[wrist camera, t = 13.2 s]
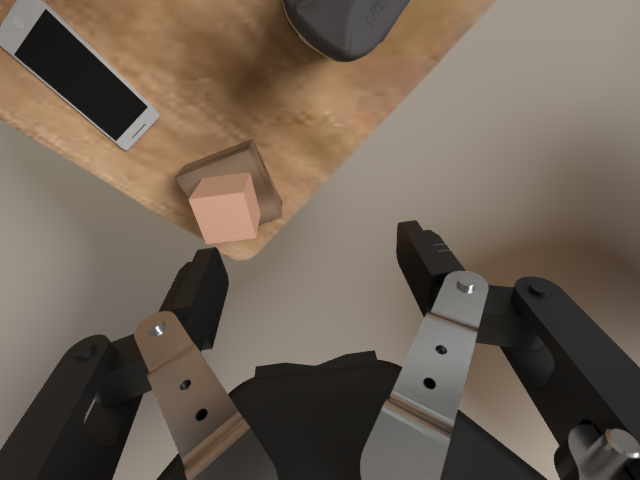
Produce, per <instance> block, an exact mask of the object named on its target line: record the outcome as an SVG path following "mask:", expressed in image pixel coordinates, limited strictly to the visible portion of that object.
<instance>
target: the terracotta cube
mask: <svg viewBox="0 0 640 480" xmlns="http://www.w3.org/2000/svg"><path fill="white" fill-rule="evenodd" d="M189 202H190V205H191V207H192V210H193V212H194V215H195V217H196V220H197V222H198V225H199V227H200V230H201V232H202V235H203V237H204V240H205V242H206V244H214V243H221V242H229V241H236V240H244V239H251V238H256V235H257V230H258V225H259V219H260V210H259V206H258V202H257V198H256V194H255V190H254V186H253V182H252V178H251V174H250V172H247V173H239V174H232V175H224V176H217V177H209V178H202V180H201V181H200V183H199V184H198V186H197V187H196V189H195V190H194V192H193V193H192V195H191V196H190V198H189Z"/></svg>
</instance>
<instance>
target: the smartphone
mask: <svg viewBox="0 0 640 480" xmlns="http://www.w3.org/2000/svg"><path fill="white" fill-rule="evenodd" d="M0 46H1V47H2V48H3V49H5V50H6V51H7V52H8V53H9V54H11V55H12V56H13V57H14V58H15V59H16V60H18V61H19V62H20V63H21V64H22V65H24V66H25V67H26V68H27V69H28V70H30V71H31V72H32V73H33V74H34V75H35V76H37V77H38V78H39V79H40V80H41V81H43V82H44V83H45V84H46V85H47V86H49V87H50V88H51V89H52V90H53V91H54V92H56V93H57V94H58V95H59V96H60V97H62V98H63V99H64V100H65V101H66V102H67V103H69V104H70V105H71V106H72V107H73V108H75V109H76V110H77V111H78V112H79V113H81V114H82V115H83V116H84V117H85V118H86V119H88V120H89V121H90V122H91V123H92V124H94V125H95V126H96V127H97V128H98V129H100V130H101V131H102V132H103V133H104V134H105V135H107V136H108V137H109V138H110V139H111V140H113V141H114V142H115V143H116V144H117V145H119V146H120V147H121V148H122V149H124V150H126V151H127V150H129V149H130V148H131V147H132V146H133V145H134V144H135V143H136V142H137V141H138V139H139V138H140V137H141V136H142V135H143V134H144V133H145V132H146V131H147V130H148V129H149V128H150V127H151V126H152V125H153V124H154V123H155V122H156V121H157V120H158V119H159V118H160V114H159V112H158V111H157V110H156V109H155V108H154V107H153V106H152V105H151V104H150V103H149V102H148V101H147V100H146V99H145V98H144V97H142V96H141V95H140V94H139V93H138V92H137V91H136V90H135V89H134V88H133V87H132V86H131V85H130V84H129V83H128V82H127V81H126V80H125V79H124V78H123V77H122V76H121V75H120V74H119V73H118V72H117V71H116V70H115V69H114V68H113V67H112V66H111V65H109V64H108V63H107V62H106V61H105V60H104V59H103V58H102V57H101V56H100V55H99V54H98V53H97V52H96V51H95V50H94V49H93V48H92V47H91V46H90V45H89V44H88V43H87V42H86V41H85V40H84V39H83V38H82V37H81V36H80V35H79V34H77V33H76V32H75V31H74V30H73V29H72V28H71V27H70V26H69V25H68V24H67V23H66V22H65V21H64V20H63V19H62V18H61V17H60V16H59V15H58V14H57V13H56V12H55V11H54V10H53V9H52V8H51V7H50V6H49V5H48V4H47V3H46V2H44V1H43V0H16V2H15V4H14V5H13V7H12V8H11V10H10V11H9V13H8V14H7V16H6V18H5V19H4V21H3V22H2V24H1V25H0Z"/></svg>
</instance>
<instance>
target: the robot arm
mask: <svg viewBox="0 0 640 480" xmlns="http://www.w3.org/2000/svg"><path fill="white" fill-rule="evenodd" d="M396 253H397V260H398V264H399V266H400V268H401V270H402V272H403V274H404V276H405V279H406V281H407V283H408V285H409V287H410V289H411V291H412V293H413V295H414V297H415V299H416V302H417V304H418V306H419V308H420V310H421V312H422V314H423V316H424V320H423V322H422V324H421V327H420V329H419V331H418V333H417V336H416V338H415V340H414V343H413V345H412V347H411V349H410V352H409V354H408V356H407V358H406V361H405V363H404V366H403V367H401V366H399V365H396V364H394V363H391V362H388V361H383V360H377V357H376V354H375V351H367V352H360V353H353V354H345V355H343V356H340V357H338V358H335V359H333V360H330V361H327V362H325V363H322V364H320V365H316V366H311V365H301V364H292V363H279V364H272V365H266V366H258V367H256V370H255V377H253V378H251V379H249V380H247V381H245V382H243V383H242V384H240V385H238V386H237V387H236V388H235V389H233V390H232V391H231V392H230V393H229V394H227V392H226V391H225V389H224V388H223V386H222V385H221V383H220V382H219V380H218V379H217V377H216V376H215V374H214V372H213V371H212V369H211V368H210V366H209V365H208V363H207V362H206V360H205V358H204V357H203V355H202V354H201V350H205V349H212V348H213V344H214V340H215V337H216V333H217V329H218V325H219V321H220V317H221V314H222V310H223V306H224V302H225V298H226V295H227V291H228V285H229V280H228V274H227V272H226V269H225V266H224V264H223V261H222V258H221V256H220V253H219V251H218V249H217V248H216V247H214V248H206V249H199V250H197V252H196V254H195V256H194V259H193V261H192V262H188V263H186V264H185V265H184V266H183V267H182V268H181V269H180V270H179V272H178V274H177V276H176V278H175V281H174V282H173V284H172V286H171V288H170V290H169V292H168V294H167V296H166V298H165V300H164V302H163V304H162V306H161V308H160V310H159V312H158V313H155V314H153V315H151V316H149V317H147V318H146V319H144V320H143V321H142V322H141V323H140V324H139V325H138V327H137V328H136V330H135V333H134V334H132V335H130V336H127V337H124V338H122V339H119V340H116V341H114V342H110V340H109V339H108V338H107V337H106V336H104V335H94V336H90V337H87V338H85V339H83V340H81V341H79V342H78V343H76V344H75V345H73V346H72V347H71V348H70V349H69V350H68V351H67V352H66V353H65V355H64V356H63V357H62V359H61V360H60V362H59V363H58V365H57V366H56V368H55V369H54V371H53V372H52V374H51V375H50V377H49V378H48V380H47V381H46V383H45V384H44V386H43V387H42V389H41V390H40V392H39V393H38V395H37V396H36V398H35V399H34V401H33V402H32V404H31V405H30V407H29V408H28V410H27V411H26V413H25V414H24V416H23V417H22V419H21V420H20V422H19V423H18V425H17V426H16V428H15V429H14V431H13V432H12V434H11V435H10V437H9V438H8V440H7V441H6V443H5V444H4V446H3V447H2V449H1V450H0V480H112V479H113V475H114V473H115V470H116V468H117V465H118V462H119V459H120V457H121V454H122V451H123V448H124V446H125V443H126V440H127V437H128V435H129V432H130V429H131V427H132V424H133V421H134V418H135V416H136V413H137V410H138V407H139V405H140V402H141V399H142V396H143V394H144V393H146V392H148V391H151V390H153V392H154V394H155V397H156V399H157V401H158V404H159V406H160V409H161V411H162V414H163V416H164V418H165V420H166V423H167V425H168V428H169V430H170V432H171V435H172V437H173V440H174V442H175V445H176V447H177V449H178V452H179V453H178V454H177V455H176V457H175V458H174V459H173V460H172V462H171V463H170V464H169V465H168V466H167V467H166V469H165V470H164V471H163V472H162V474H161V475H160V476H159V477H158V478H157V480H547V479H546V478H545V477H544V476H543V475H541V474H540V473H539V472H538V471H536V470H535V469H534V468H532V467H531V466H530V465H529V464H527V463H526V462H525V461H523V460H522V459H521V458H520V457H518V456H517V455H516V454H515V453H513V452H512V451H511V450H510V449H508V448H507V447H506V446H504V445H503V444H502V443H501V442H499V441H498V440H497V439H495V438H494V437H493V436H492V435H490V434H489V433H488V432H486V431H485V430H484V429H483V428H482V427H480V426H479V425H478V424H476V423H475V422H474V421H473V420H471V419H470V418H469V417H468V416H466V415H465V414H464V413H462V412H461V411H460V410H459V409H458V407H459V403H460V399H461V395H462V391H463V388H464V383H465V380H466V375H467V372H468V368H469V364H470V360H471V357H472V353H473V349H474V345H475V343H482V344H490V345H497V346H500V348H501V349H502V351H503V353H504V354H505V356H506V357H507V359H508V361H509V363H510V364H511V366H512V368H513V369H514V371H515V373H516V374H517V376H518V378H519V379H520V381H521V383H522V384H523V386H524V387H525V389H526V391H527V392H528V394H529V396H530V397H531V399H532V401H533V402H534V404H535V406H536V407H537V409H538V411H539V412H540V414H541V416H542V417H543V419H544V421H545V422H546V424H547V426H548V427H549V429H550V431H551V432H552V434H553V436H554V437H555V439H556V441H557V442H558V444H559V447H558V448H557V450H556V451H555V454H554V465H555V468H556V471H557V473H558V476H559V478H560V480H640V368H639V367H638V366H637V364H636V363H635V362H634V361H632V360H631V359H630V358H629V356H628V355H627V354H626V353H625V352H623V350H622V349H621V348H620V347H619V346H618V345H617V344H616V343H615V342H614V341H613V340H612V339H611V338H610V337H609V336H608V335H607V334H606V333H605V332H604V331H603V330H602V329H601V328H600V327H599V326H598V325H597V324H596V323H595V322H594V321H593V320H592V319H591V318H590V317H589V316H588V315H587V314H586V313H585V312H584V311H583V310H582V309H581V308H580V307H579V306H578V305H577V304H576V303H575V302H574V301H573V300H572V299H571V298H570V297H569V296H568V295H567V294H566V293H565V292H564V291H563V290H562V289H561V288H560V287H559V286H557V285H556V284H554V283H553V282H551V281H549V280H546V279H543V278H539V277H523V278H520V279H519V280H517V281H516V283H515V286H514V287H503V286H493V285H488V284H487V282H486V281H485V280H484V279H483V278H482V277H480V276H479V275H477V274H475V273H472V272H468V271H466V270H465V269H464V268H463V266H462V265H461V264H460V262H459V261H458V260H457V259H456V257H455V256H454V255H453V253H452V252H451V251H450V250H449V248H448V247H447V245H445V243H444V241H443V240H442V239H441V237H440V236H439V235H437V234H436V233H434V232H432V231H431V230H425V231H423V229H422V228H421V226H420V225H419V223H418V222H417V221H415V220H414V221H407V222H401V223H398V226H397V248H396ZM93 399H95V400H96V401H95V403H94V405H93V407H92V409H91V411H90V413H89V415H88V417H87V419H86V421H85V423H84V419H85V416H86V413H87V411H88V409H89V407H90V405H91V403H92V401H93Z"/></svg>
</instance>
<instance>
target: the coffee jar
mask: <svg viewBox="0 0 640 480" xmlns="http://www.w3.org/2000/svg"><path fill="white" fill-rule="evenodd" d="M409 1H410V0H283V6H284V9H285V12H286V15H287V18H288V21H289V24H290V26H291V28H292V30H293V31H294V32H295V33H296V35H297V36H298V37H299V38H300V39H301V40H302V41H303V42H304V43H306V44H307V45H308V46H309V47H311V48H312V49H314V50H315V51H317V52H319V53H320V54H322V55H324V56H325V57H327V58H329V59H331V60H333V61H336V62H350V61H354V60H356V59H359V58H361V57H363V56H365V55H367V54H368V53H369V52H371V51H372V50H373V49H374V48H375V47H376V46H377V45H378V44H379V43H381V42H382V41H383V40H384V39H385V37H386V36H387V34H388V32H389V31H390V29H391V28H392V26H393V25H394V23H395V22H396V21H397V19H398V18H399V16H400V14H401V13H402V11H403V10H404V8H405V7H406V6H407V4H408V3H409Z"/></svg>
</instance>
